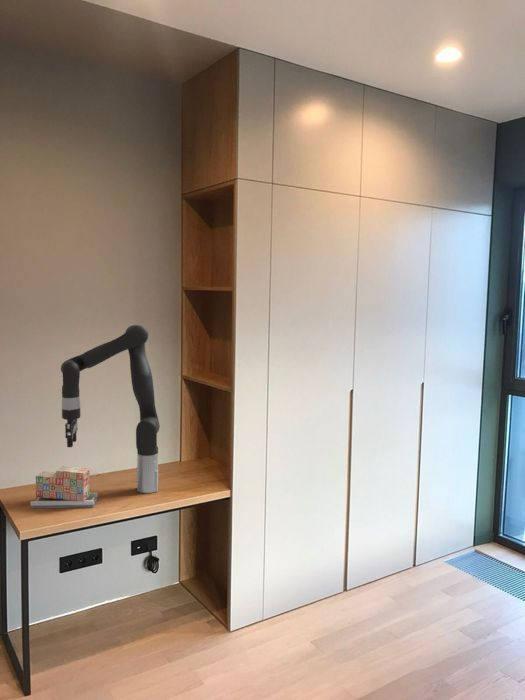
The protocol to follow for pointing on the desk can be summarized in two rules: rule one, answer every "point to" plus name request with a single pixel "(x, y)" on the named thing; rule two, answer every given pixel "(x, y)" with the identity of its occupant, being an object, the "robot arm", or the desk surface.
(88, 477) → the stack of blocks
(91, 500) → the base board
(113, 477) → the desk surface
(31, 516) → the desk surface
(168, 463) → the desk surface
